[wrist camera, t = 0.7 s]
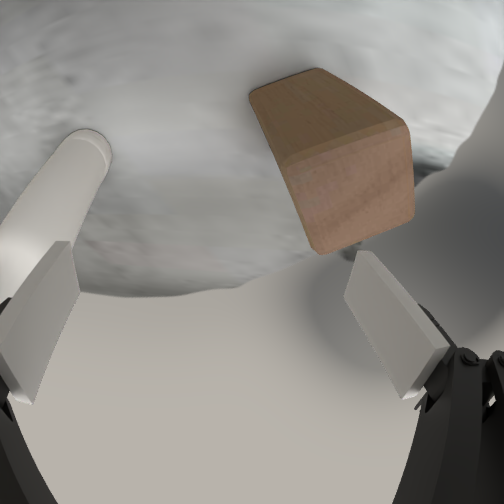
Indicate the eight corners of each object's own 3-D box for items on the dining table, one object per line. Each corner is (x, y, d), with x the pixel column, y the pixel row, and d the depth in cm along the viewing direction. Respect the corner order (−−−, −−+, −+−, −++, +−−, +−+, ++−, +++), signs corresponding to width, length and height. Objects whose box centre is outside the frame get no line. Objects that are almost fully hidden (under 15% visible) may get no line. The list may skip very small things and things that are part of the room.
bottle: (73, 118, 31) (-63, 316, 10) (122, 143, 35) (37, 365, 14) (55, 166, 35) (-44, 360, 14) (99, 187, 39) (34, 395, 18)
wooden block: (341, 130, 38) (419, 222, 24) (273, 155, 40) (316, 263, 26) (320, 64, 31) (413, 120, 17) (245, 91, 33) (279, 168, 19)
